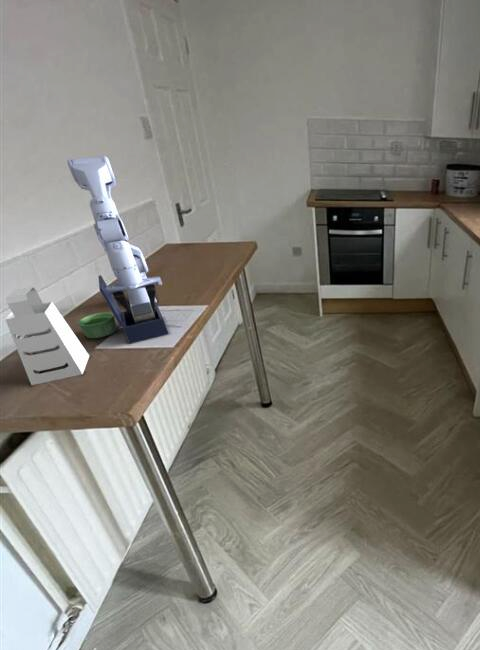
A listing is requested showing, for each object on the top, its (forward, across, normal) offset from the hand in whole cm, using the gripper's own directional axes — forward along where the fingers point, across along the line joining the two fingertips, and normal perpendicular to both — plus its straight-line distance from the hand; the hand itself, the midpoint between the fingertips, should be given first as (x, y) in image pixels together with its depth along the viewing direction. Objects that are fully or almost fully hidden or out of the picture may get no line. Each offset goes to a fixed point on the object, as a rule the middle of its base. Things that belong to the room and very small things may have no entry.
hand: (143, 314), depth 119 cm
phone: (+1, 0, 0) cm, 1 cm away
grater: (+5, -21, -13) cm, 25 cm away
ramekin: (+5, -12, +6) cm, 14 cm away
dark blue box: (+5, -1, 0) cm, 5 cm away
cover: (-6, -6, 0) cm, 8 cm away
